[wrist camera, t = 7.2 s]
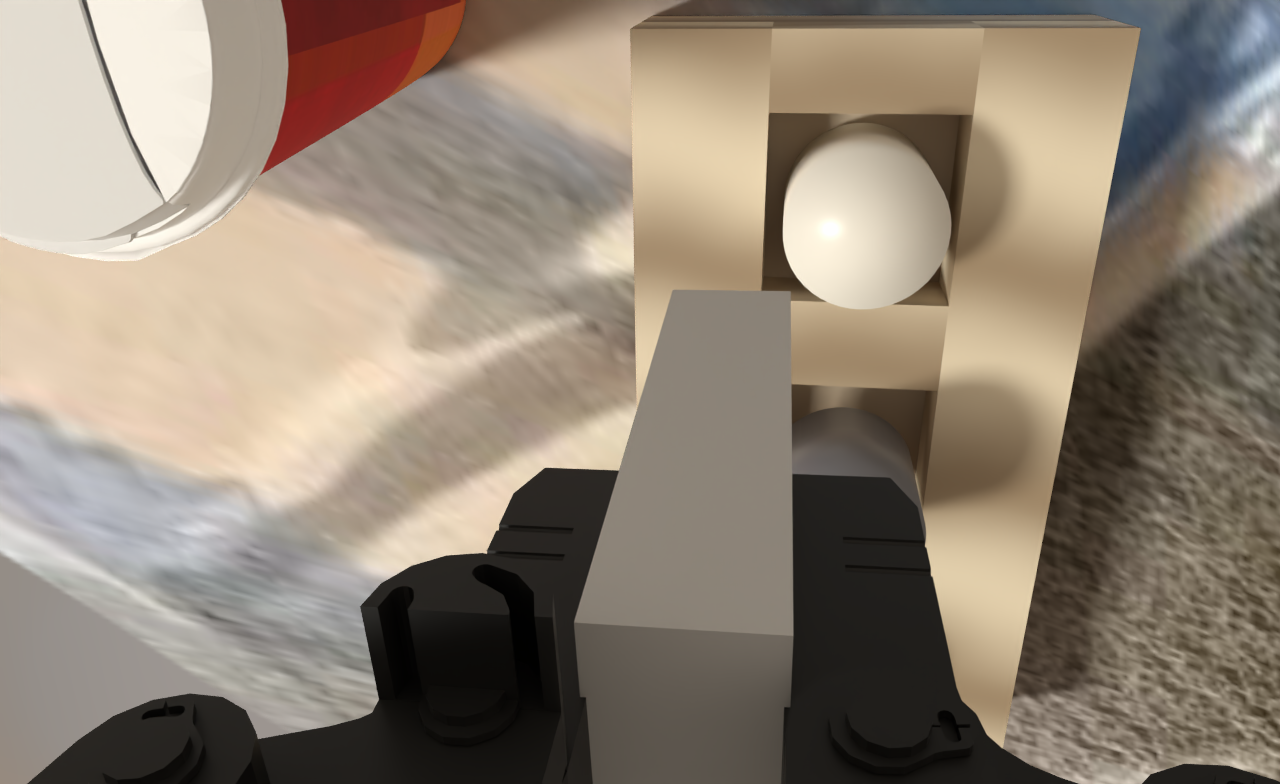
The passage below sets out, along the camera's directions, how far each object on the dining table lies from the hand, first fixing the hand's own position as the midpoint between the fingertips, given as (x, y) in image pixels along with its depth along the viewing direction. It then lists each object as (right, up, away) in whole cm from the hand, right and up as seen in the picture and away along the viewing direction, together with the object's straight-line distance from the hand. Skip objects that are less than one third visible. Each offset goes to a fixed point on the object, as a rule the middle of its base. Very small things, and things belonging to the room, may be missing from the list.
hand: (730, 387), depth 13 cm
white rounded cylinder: (+5, +5, +14) cm, 16 cm away
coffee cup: (-9, +12, +16) cm, 22 cm away
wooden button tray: (+5, 0, +19) cm, 20 cm away
